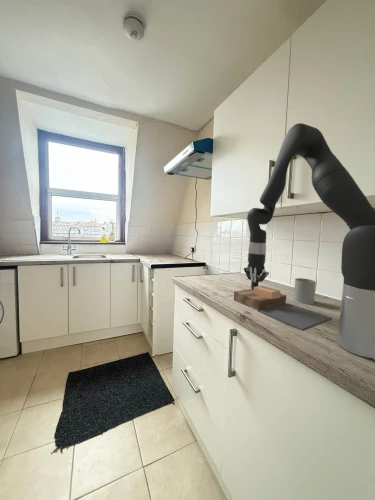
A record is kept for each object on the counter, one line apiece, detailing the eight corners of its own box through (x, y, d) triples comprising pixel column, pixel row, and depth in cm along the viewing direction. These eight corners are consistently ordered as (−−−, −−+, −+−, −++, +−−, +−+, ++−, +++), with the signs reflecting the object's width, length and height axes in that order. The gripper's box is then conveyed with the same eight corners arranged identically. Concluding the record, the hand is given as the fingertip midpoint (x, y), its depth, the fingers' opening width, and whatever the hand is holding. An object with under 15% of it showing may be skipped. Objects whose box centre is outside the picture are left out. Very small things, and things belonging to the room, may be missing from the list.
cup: (318, 304, 91) (320, 282, 90) (302, 304, 89) (304, 282, 88) (304, 298, 99) (306, 278, 98) (289, 298, 98) (291, 278, 97)
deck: (285, 304, 88) (286, 295, 88) (258, 310, 79) (259, 300, 79) (259, 295, 100) (260, 287, 100) (233, 300, 91) (234, 291, 91)
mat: (331, 318, 74) (331, 317, 74) (301, 330, 64) (301, 329, 64) (287, 304, 89) (287, 303, 89) (257, 311, 78) (257, 310, 78)
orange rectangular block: (279, 297, 84) (280, 290, 84) (271, 299, 81) (271, 292, 81) (262, 291, 92) (262, 285, 92) (253, 293, 89) (253, 286, 89)
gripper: (275, 254, 87) (272, 292, 88) (251, 251, 98) (248, 285, 100) (263, 254, 83) (260, 294, 84) (240, 251, 94) (238, 287, 96)
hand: (254, 289), depth 92 cm, fingers closed
